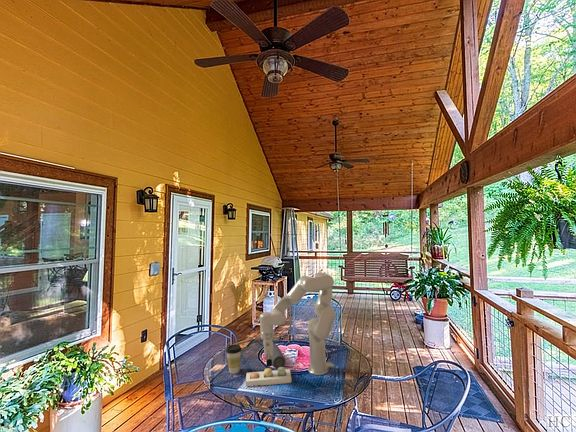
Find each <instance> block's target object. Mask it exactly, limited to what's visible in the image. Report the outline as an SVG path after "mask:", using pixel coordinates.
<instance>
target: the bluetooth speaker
mask: <svg viewBox="0 0 576 432" xmlns="http://www.w3.org/2000/svg"><path fill="white" fill-rule="evenodd" d="M271 358H272V367H273V368H274V369H276V370H278V368H279V367H286V363H287V361H286V358H285V356H284V353H283V352H282V351H281V349H280V348H279V345H277V343H275V342H273V356H271Z"/></svg>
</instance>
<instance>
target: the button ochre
mask: <svg viewBox="0 0 576 432" xmlns="http://www.w3.org/2000/svg"><path fill="white" fill-rule="evenodd" d="M263 371H264V372H265V377H270V376H272V371H273V370H272V368H271V367H267V368H265V369H264V370H263Z"/></svg>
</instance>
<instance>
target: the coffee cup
mask: <svg viewBox="0 0 576 432" xmlns="http://www.w3.org/2000/svg"><path fill="white" fill-rule="evenodd" d="M242 350H243V349H242V347H241V345H240V344H231V345H228V346H227V347H226V349H225V353H226V358H227V359H226V360H227V365H228V370H229V371H228V372H229V373H230V374H231V375H235V374H238V373H239V372H240V368H241V367H240V366H241V361H242V359H241V358H242Z"/></svg>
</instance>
